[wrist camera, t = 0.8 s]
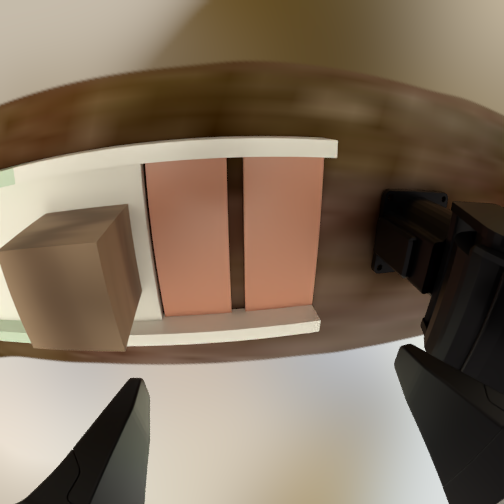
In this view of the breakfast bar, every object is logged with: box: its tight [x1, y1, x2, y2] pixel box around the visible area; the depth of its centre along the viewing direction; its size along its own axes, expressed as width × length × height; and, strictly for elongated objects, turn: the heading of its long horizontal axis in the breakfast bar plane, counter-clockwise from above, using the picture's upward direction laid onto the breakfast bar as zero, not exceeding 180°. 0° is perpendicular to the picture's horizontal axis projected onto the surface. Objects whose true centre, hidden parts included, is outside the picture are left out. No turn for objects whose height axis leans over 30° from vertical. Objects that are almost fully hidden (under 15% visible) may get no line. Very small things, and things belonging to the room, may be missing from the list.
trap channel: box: [0, 136, 338, 346], centre depth 17 cm, size 30×13×2 cm, turn 90°
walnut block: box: [0, 204, 142, 351], centre depth 15 cm, size 6×6×6 cm
